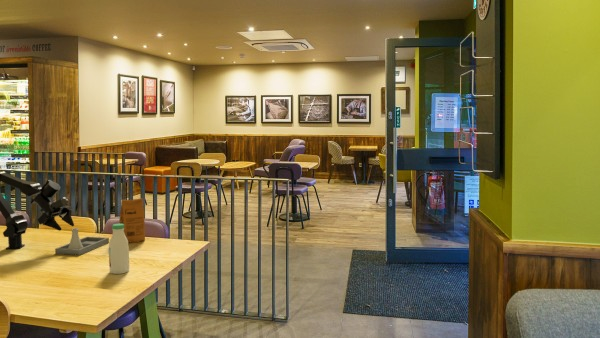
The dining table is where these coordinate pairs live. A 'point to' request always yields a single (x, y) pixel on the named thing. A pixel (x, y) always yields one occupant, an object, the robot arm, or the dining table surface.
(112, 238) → the milk bottle
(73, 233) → the flask
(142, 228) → the coffee package
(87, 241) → the caddy tray
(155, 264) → the dining table surface
